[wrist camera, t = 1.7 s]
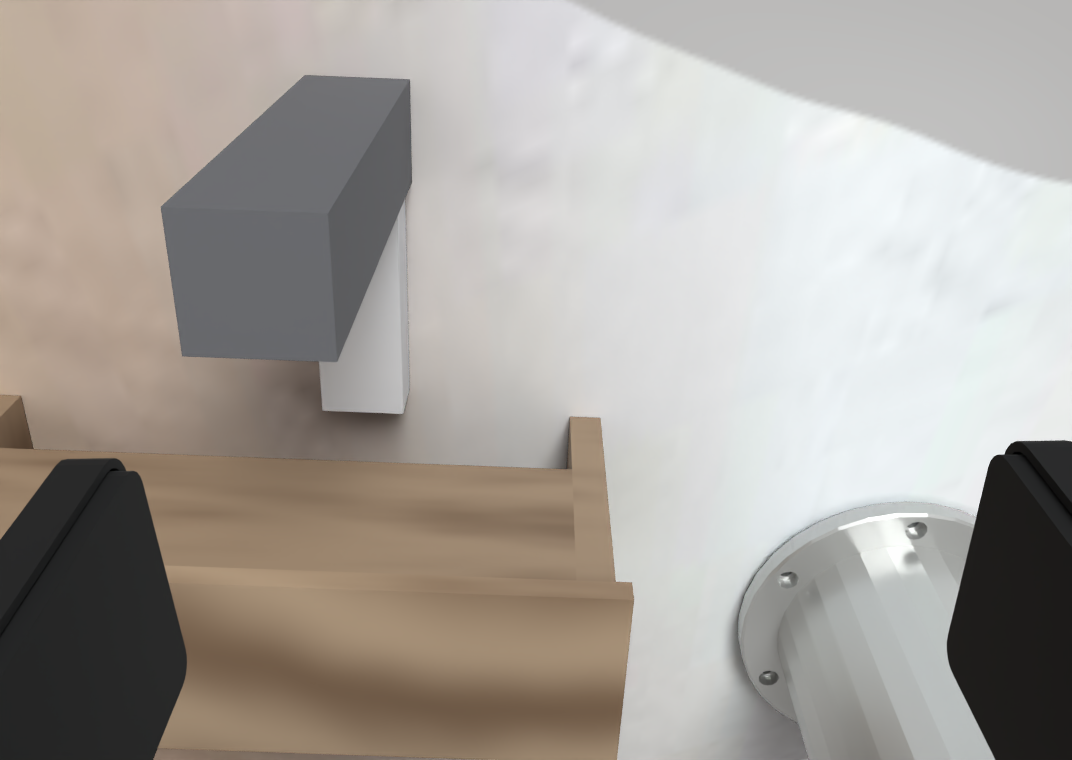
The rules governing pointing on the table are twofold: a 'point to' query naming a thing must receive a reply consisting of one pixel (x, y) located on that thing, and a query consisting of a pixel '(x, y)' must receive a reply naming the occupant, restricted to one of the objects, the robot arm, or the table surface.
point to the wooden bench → (381, 600)
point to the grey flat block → (304, 241)
